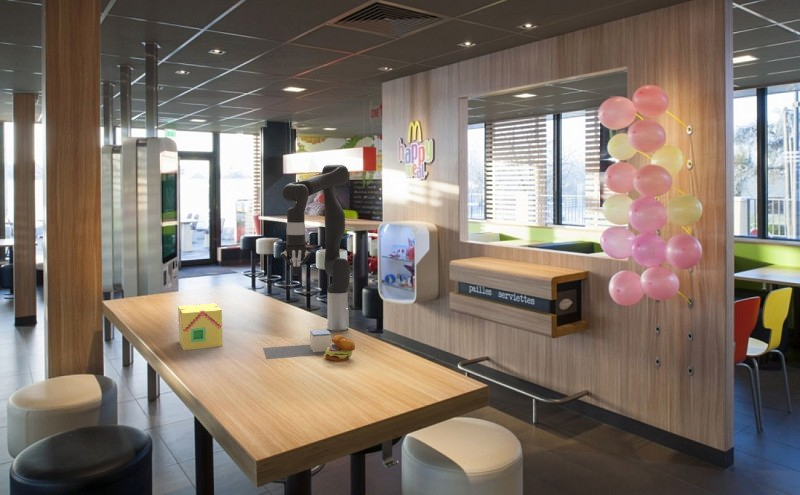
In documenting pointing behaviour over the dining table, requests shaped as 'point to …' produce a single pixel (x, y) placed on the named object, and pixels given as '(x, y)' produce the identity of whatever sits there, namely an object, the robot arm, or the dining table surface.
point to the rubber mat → (290, 351)
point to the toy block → (200, 326)
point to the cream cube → (320, 340)
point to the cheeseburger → (339, 349)
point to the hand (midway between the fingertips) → (296, 275)
